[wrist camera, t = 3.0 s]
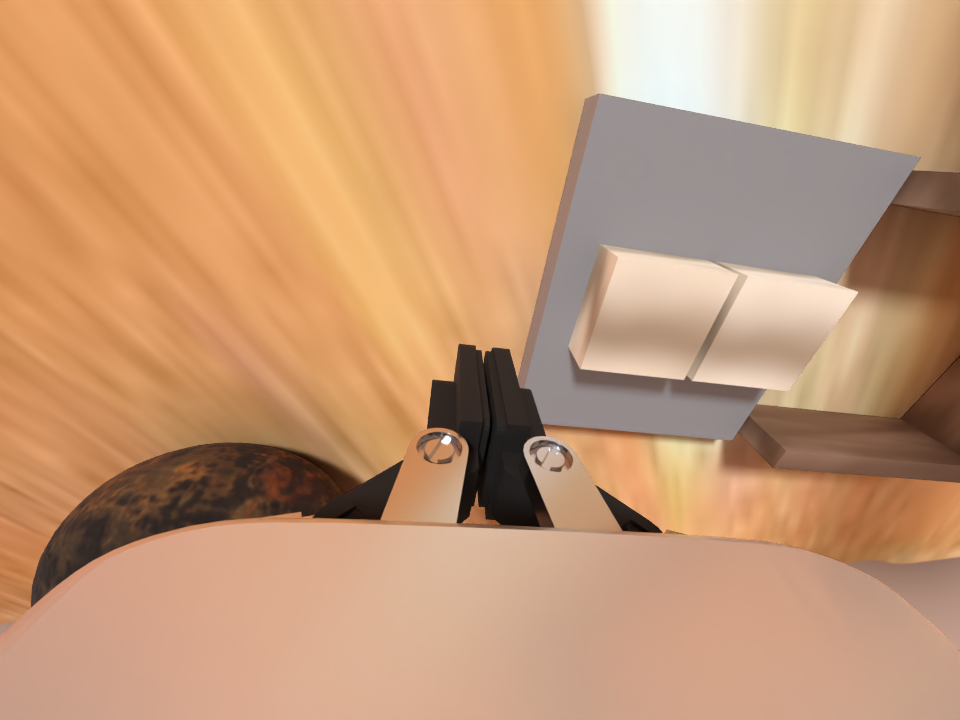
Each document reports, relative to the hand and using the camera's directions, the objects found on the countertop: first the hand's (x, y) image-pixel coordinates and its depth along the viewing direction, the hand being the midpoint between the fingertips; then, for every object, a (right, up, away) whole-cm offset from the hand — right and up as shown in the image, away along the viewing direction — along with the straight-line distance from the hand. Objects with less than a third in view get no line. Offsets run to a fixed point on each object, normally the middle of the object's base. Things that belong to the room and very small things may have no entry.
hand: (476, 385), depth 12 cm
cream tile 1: (+9, +4, +8) cm, 13 cm away
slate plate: (+12, +5, +10) cm, 16 cm away
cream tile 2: (+15, +3, +9) cm, 18 cm away
